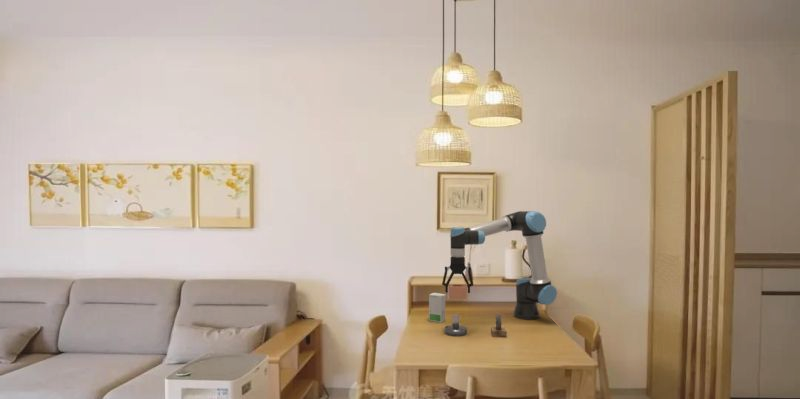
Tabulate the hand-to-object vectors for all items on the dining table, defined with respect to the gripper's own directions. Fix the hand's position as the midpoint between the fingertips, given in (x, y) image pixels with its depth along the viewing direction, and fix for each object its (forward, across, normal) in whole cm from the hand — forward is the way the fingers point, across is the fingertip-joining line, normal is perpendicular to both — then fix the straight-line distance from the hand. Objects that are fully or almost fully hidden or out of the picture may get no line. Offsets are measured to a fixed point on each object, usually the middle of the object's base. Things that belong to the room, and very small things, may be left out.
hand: (457, 298), depth 223 cm
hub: (+18, +1, 0) cm, 18 cm away
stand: (+18, -21, +2) cm, 28 cm away
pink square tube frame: (-1, 0, 0) cm, 1 cm away
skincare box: (+18, +11, -24) cm, 32 cm away
